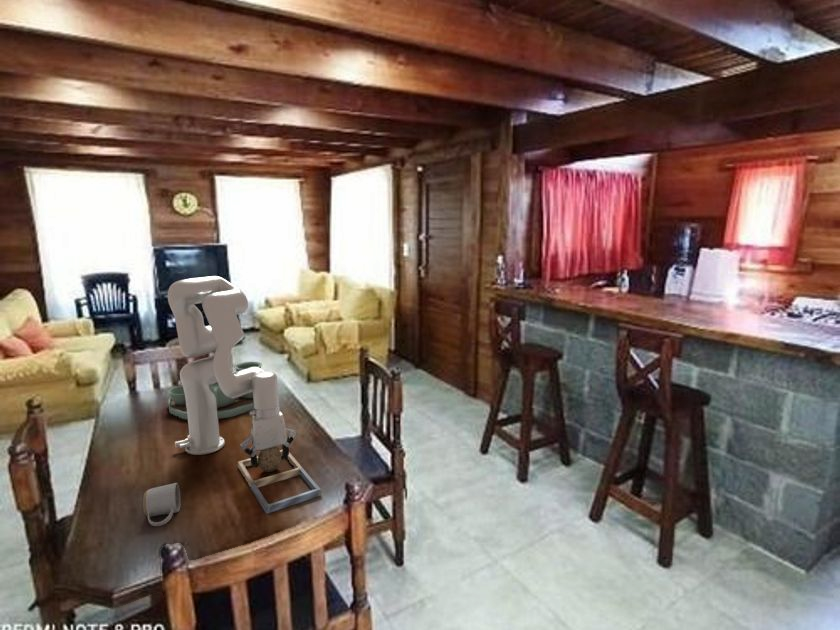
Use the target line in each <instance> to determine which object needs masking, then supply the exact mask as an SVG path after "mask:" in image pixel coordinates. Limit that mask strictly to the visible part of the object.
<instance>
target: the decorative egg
mask: <svg viewBox="0 0 840 630" xmlns="http://www.w3.org/2000/svg"><path fill="white" fill-rule="evenodd" d="M257 456H258V467H259V468H260V469H261V470H262V471H264V472H265V473H273V472H275V471H276V470H278V468H279V467H280V466H281V463H282V457H281V453H280V449H279V447H278V446H276V447H272V448H268V449H264V450H259V451H258V455H257Z"/></svg>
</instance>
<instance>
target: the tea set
mask: <svg viewBox="0 0 840 630" xmlns="http://www.w3.org/2000/svg"><path fill="white" fill-rule="evenodd" d="M232 365H233V367H234V369H235V372H237V371H240V370H244V369H247V368H250V367H259V368H261V369H262V366H263V363H262V362H259V361H253V360H252V361H244V362H240V363H237V364H232ZM178 385H179V386H175V387H173V388H171V389H169V390H168V394H169V396H170V398H169V399H167V400H168V410H169V414H170V415H172V414H173V416H175V417H177V416H178V418H180V419H182V420H188V416H187V407H186V399H185V393H184V389H183V385H182V382H181V380H179V381H178ZM209 389H210V390H211V391H212V392H213V393H214V395H215V397H216V403H217V415H218V420H221V419H226V418H233V417H235V416H239V415H241V414H245V413H249V411H252V410H253V407H254V403H253V392H250V393H247V394H244V395H242V396H239V397H236V398H229V397H227V396H226V395H225V394H224V393H223V392H222V390H221V388H220V386H219V384H218V382H217V383H214V384H212V385H210V386H209Z"/></svg>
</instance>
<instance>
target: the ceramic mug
mask: <svg viewBox="0 0 840 630" xmlns="http://www.w3.org/2000/svg"><path fill="white" fill-rule="evenodd" d="M142 501H143V502H142V505H143V512H144V514H145V516H147V521H148V523H149V525H151V526H153V527H160V526H161V527H162V526H164V525H166V524H168V522H169V521H170V520H171V519H172V517H173V515H174V514H175V513H178V512H179V511H180V508H181V491H180V486H179V484H178V483H177V482H174V483H170V484H166V485H161V486H160V485H159V486H156V487H151V488H150V489H147V490H145V492H144V493H143V498H142ZM163 515H168V516H166V517H165V518H164V519H163V520H161V521H158V522H156V521H153V520H151V517H156V516H163Z"/></svg>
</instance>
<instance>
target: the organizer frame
mask: <svg viewBox="0 0 840 630" xmlns="http://www.w3.org/2000/svg"><path fill="white" fill-rule="evenodd" d="M279 450H280V449H279ZM280 453H281V458H282V456H283V452H282V449H281V450H280ZM256 456H257V464H258V455H256ZM288 460H289V461H288ZM288 460H287V461H288V462H289V463H290V464H291V466H292V465H293V466H294V467H293V466H292V467H293V468H292V469H289V470H286V471H282V472H279V473H275V474H272V475H269V476H266V477H262V478H259V479H253V478H252V475H250V473H249V470H248V469H247V467H250V466H253V465H252V464H251V457H250V458H246V459H243V460H239V461H237V467H238V469H239V471H240V473H241V474H242V476H243V478H244V477H245V478H244V479H245V481H246V483H247V482H248V483H247V485H249V488H250V487H251V488H250V489H251V491H252V492H253V494H254V495H255V496H254V497H255V498H256V499H257V501H258V502H259V504H260V506H261V507H262V509H263V511H264V513H265V514H266V515H267V514H271V513H273V512H276V511H279V510H282V509H286V508H287V507H291V506H294V505H297V504H300V503H303V502H306V501H308V500H312V499H315V498H318V497H321V496H322V489H321V488H320V487H319V485H318V484H317V483H316V481H314V479H312V478H313V477H311V476H310V475H309V474H308V472H307V471H306V470H305V469H304V468H303V466H301V464H300V463H299V462H298V461H297V459H296V458H295V457H294V456H293V455H292V453H290V452H289V455H288ZM258 465H259V464H258ZM246 466H247V467H246ZM297 476H300V477H301V478H302V479H303V480H304V482H305V483H306V484H307V485H308V486H309V488H310V489H311V490H308V491H306V492H302V493H299V494H296V495H293V496H290V497H288V498H284V499H281V500H279V501H275V502H272V503H268V502H267V500H266V499H265V497H264V495H263V494H262V492H261V490H260V489H259V488H260V487H265V486H267V485H271V484H275V483H277V482H281V481H284V480H288V479H290V478H293V477H297Z"/></svg>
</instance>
